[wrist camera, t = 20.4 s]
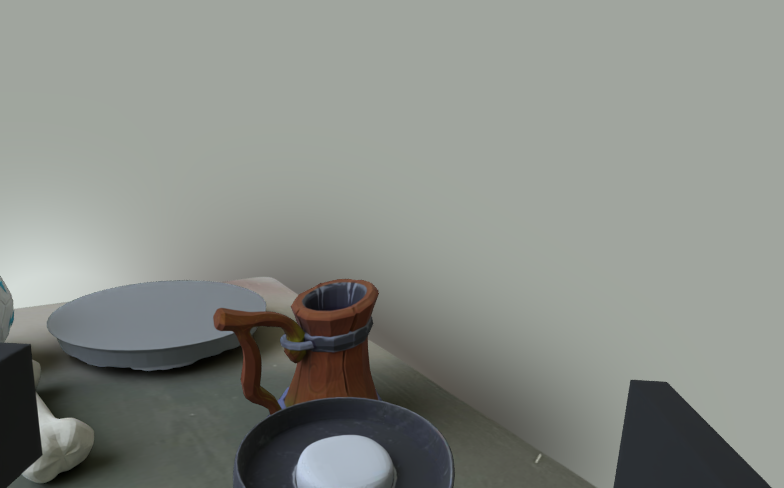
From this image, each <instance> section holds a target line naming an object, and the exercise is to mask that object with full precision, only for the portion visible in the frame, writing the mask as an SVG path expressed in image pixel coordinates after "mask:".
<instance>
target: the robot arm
mask: <svg viewBox="0 0 784 488" xmlns="http://www.w3.org/2000/svg"><path fill="white" fill-rule="evenodd" d="M42 455H43V453H42V444H41V435H40V426H39V417H38V408H37V399H36V390H35V380H34V371H33V362H32V353H31V344H17V343H0V488H7V487H8V486H9V485H10V484H11V483H12V482H13V481H14V480H15V479H17V478H18V477H19V476H20V475H21V474H22V473H23V472H24V471H26V470H27V469H28V468H29V467H30V466H31V465H32V464H33V463H34V462H36V461H37V460H38V459H39V458H40V457H41V456H42ZM614 488H771V487H770V486H769V485H768V484H767V483H766V481H765V480H763V478H762V477H761V476H760V475H759V474H758V473H757V472H756V471H754V469H753V468H752V467H751V466H750V465H749V464H747V462H746V461H745V460H744V459H743V458H742V457H741V456H740V455H738V453H737V452H736V451H735V450H734V449H733V448H732V447H731V446H730V445H729V444H728V443H727V442H726V441H725V440H724V439H723V438H722V437H721V436H720V435H719V434H718V433H717V432H716V431H715V430H714V429H713V428H712V427H711V426H710V425H709V424H708V423H707V422H706V421H705V420H704V419H703V418H702V417H701V416H700V415H699V414H698V413H697V412H696V411H695V410H694V409H693V408H692V407H691V406H690V405H689V404H688V403H687V402H686V401H685V400H684V399H683V398H682V397H681V396H680V395H679V394H678V393H677V392H676V391H675V390H674V389H673V388H672V387H671V386H670V385H669V384H668V383H667V382H659V381H642V380H631V381H630V387H629V393H628V400H627V406H626V412H625V419H624V425H623V431H622V438H621V444H620V450H619V457H618V463H617V469H616V476H615V482H614Z"/></svg>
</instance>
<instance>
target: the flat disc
mask: <svg viewBox="0 0 784 488" xmlns="http://www.w3.org/2000/svg"><path fill="white" fill-rule="evenodd" d="M219 308H226V309H232V310H239V311H246V312H260V311H266V302H265V301H264V299H263V298H262V297H261V296H260V295H259V294H257V293H255V292H254V291H251V290H249V289H246V288H243V287H240V286H236V285H232V284H226V283H219V282H210V281H192V280H186V281H185V280H177V281H158V282H147V283H139V284H133V285H126V286H120V287H115V288H111V289H106V290H102V291H99V292H95V293H92V294H89V295H85V296H83V297H80V298H77V299H75V300H73V301H71V302H68V303H66V304H65V305H63V306H61V307H60V308H58V309H57V310H56V311H54V312H53V313H52V314H51V315H50V317H49V318H48V321H47V328H48V330H49V332H50V333H51V334H52V335H53V336H55V337H56V338H57V339H58V342H59V344H60V346H61V348H62V350H63V351H64V352H65V353H67V354H68V355H70V356H73V357H76V358H78V359H79V360H80V361H84V362H86V363H87V364H89V365H96V366H99V367H106V366H110V367H112V366H113V367H120V368H126V367H131V368H132V369H134V370H137V369H141V370H144V371H152V370H159V369H161V370H167V369H172V368H174V367H182V366H186V365H190V364H192V363H194V362H195V361H197V360H199V359H202V358H205V357H210V356H214V355H217V354H220V353H222V352H223V351H224V350H229V349H234V348H236V347H238V346H240V343H239V341H238V338H237V336H236V335H235V333H234V332H233V331H219V330H217V329H216V328H215V327H214V321H213V316H214V314H215V312H216V310H217V309H219ZM256 329H257V327H253V328H252V329H251V330H250V333H251V335H252V334H253V333H254V332H255V331H256Z"/></svg>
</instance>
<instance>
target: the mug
mask: <svg viewBox="0 0 784 488" xmlns="http://www.w3.org/2000/svg"><path fill="white" fill-rule="evenodd" d="M378 294H379V293H378V290H377V288H376V287H375V286H374V285H373V284H371V283H370V282H367V281H364V280H351V279H337V280H333V281H329V282H325V283H320V284H318V285H317V286H315V287H313V288H311V289H309V290H307V291H305V292H303V293H301V294H299V295H298V297H297V298H296V299H295V301H294V302H293V304H292V305H291V308H292V311H293V313H294V315H295V318H296V321H297V323H298V324H297V323H296V322H295V321H294V320H292V319H290V318H289V317H287V316H285V315H282V314H279V313H276V312H267V311H260V312H246V311H239V310H232V309H226V308H219V309H217V310H216V312H215V314H214V316H213V321H214V327H215V328H216V329H217V330H219V331H233V332H234V333H235V335H236V336H237V338H238V341H239V343H240V345H241V347H242V350H243V368H242V374H241V383H242V388H243V393H244V395H245V397H246V399H248V400H249V401H251V402H252V403H255V404H258V405H262V406H264V407H266V408H268V409H269V412H270V415H272V414H273V413H275V412H277V411H280V410H282V409H284V408H287V407H290V406H292V405H295V404H299V403H303V402H306V401H311V400H317V399H324V398H335V397H356V398H367V399H374V400H379V401H382V400H381V398H380V396H379V394H378V392H377V391H376V389H375V386H374V383H373V380H372V376H371V372H370V366H369V355H368V334H369V332H370V330H371V327H372V325H373V320H372V317H371V314H372V311H373V308H374V305H375V302H376V300H377V297H378ZM258 326H267V327H281V328H282V329H283V330H284V332H285V334H284V335H283V336H282V337H281V338H280V343H281V345H282V347H284V352H285V353H286V355H287V356H288V357H289V359H290V360H291V361H292V362H294V363H297V367H296V371H295V374H294V377H293V379H292V382H291V385H290V387H288V388H287V390H286V391H285V392H284V394H283V395H282V396H281V398H280V399H279V400H278V402H277V400H276V398H275V397H274V396H273V395H272V394H271V393H269V392H268V391H267V390H265V389H264V388H263V387H261V386H260V380H261V355H260V351H259V348H258V346H257V344H256V342H255V339H254V338H253V336H252V335H251V333H250V330H251V329H252V328H253V327H258ZM270 415H268V416H270ZM268 416H267V417H268Z"/></svg>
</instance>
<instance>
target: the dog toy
mask: <svg viewBox="0 0 784 488" xmlns="http://www.w3.org/2000/svg"><path fill="white" fill-rule="evenodd" d="M32 362H33V371H34V380H35V389H36V388H37V385H38V383H39V380H40V375H41V367H40V364H39V363H38V362H36V361H34V360H32ZM36 399H37V408H38V417H39V426H40V435H41V444H42V453H43V455H42V456H41V457H40V458H39V459H38V460H37V461H36V462H34V463H33V464H32V465H31V466H30V467H29V468H28V469H27V470H26V471H24V472H23V473H22V475H23V476H24V477H26V478H27V479H29V480H31V481H33V482H36V483H46V482H48V481H50V480H52V479H53V478H55V477H56V476H57V474H59V473H61V472H64V471H68V470H70V469H72V468H73V467H75V466H76V465H78V464H79V463H81V462H82V461H83V460H84V459H86V457H87V456H88V454H89V452H90V450H91V448H92V446H93V443H94V431H93V429H92V428H91V427H90V426H88V425H87V424H85V423H83V422H81V421H79V420H77V419H75V418H63V419H57V418H55V417H54V416H53V414H52V413H51V412H50V410H49V409H48V407H47V406H46V405H45V403H44V402H43V401H42V399H41V398H40V397H39V395H38V394H37V392H36Z"/></svg>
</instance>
